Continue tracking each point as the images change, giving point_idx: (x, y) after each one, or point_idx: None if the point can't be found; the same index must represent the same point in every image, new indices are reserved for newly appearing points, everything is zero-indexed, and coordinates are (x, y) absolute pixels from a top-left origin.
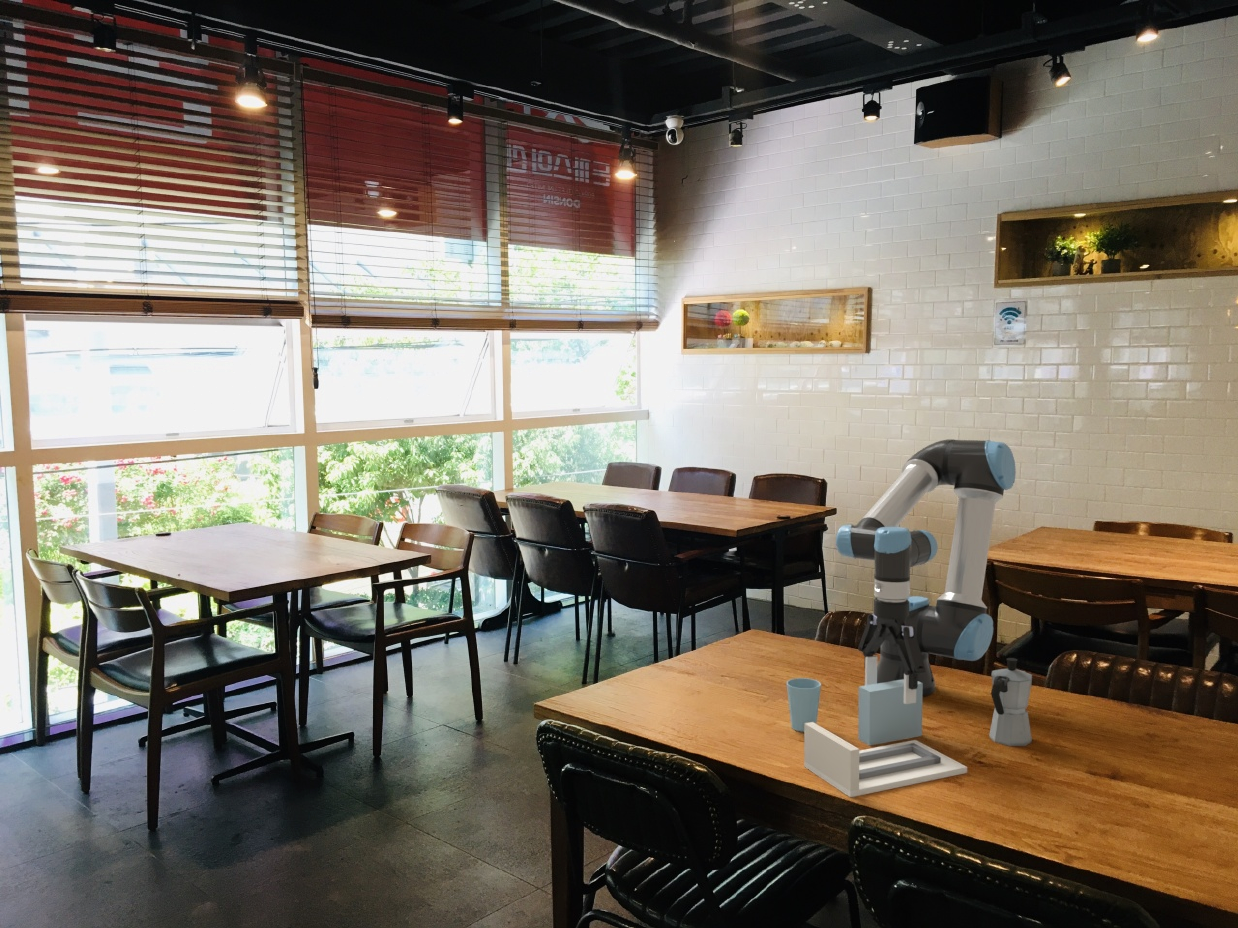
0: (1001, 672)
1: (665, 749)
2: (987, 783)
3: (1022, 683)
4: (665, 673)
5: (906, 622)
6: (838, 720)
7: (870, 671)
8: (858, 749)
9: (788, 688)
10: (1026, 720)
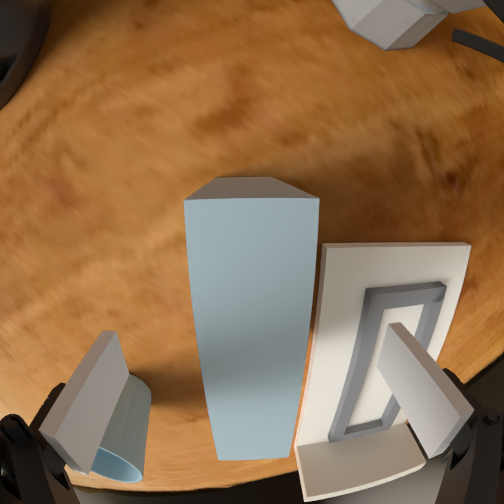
0: None
1: (177, 494)
2: (492, 241)
3: None
4: None
5: None
6: (98, 313)
7: (102, 405)
8: (425, 462)
9: (113, 473)
10: None
